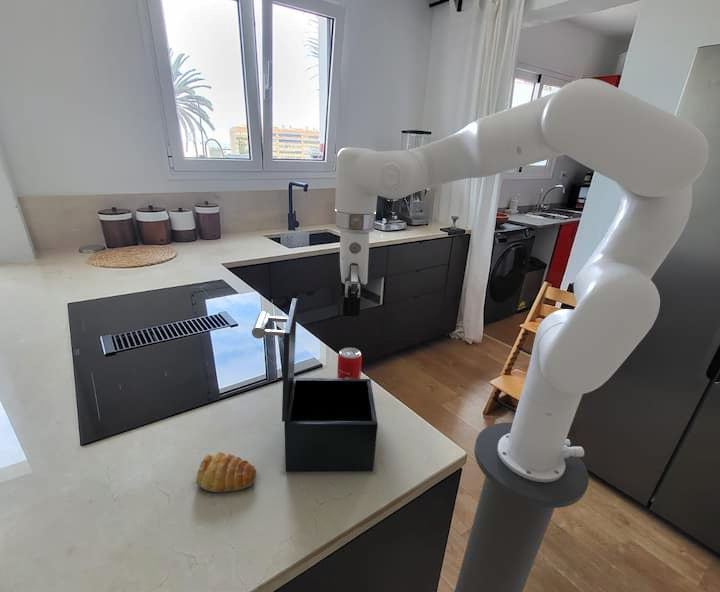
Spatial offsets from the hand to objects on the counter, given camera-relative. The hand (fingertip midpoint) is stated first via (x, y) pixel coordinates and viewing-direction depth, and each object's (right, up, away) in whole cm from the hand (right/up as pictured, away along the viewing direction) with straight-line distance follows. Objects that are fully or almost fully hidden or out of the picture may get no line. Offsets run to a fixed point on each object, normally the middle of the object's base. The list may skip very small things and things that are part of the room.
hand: (349, 305), depth 80 cm
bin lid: (-10, -9, -12) cm, 18 cm away
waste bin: (-4, -27, -4) cm, 28 cm away
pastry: (-21, -30, -12) cm, 39 cm away
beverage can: (-1, -21, +10) cm, 24 cm away
